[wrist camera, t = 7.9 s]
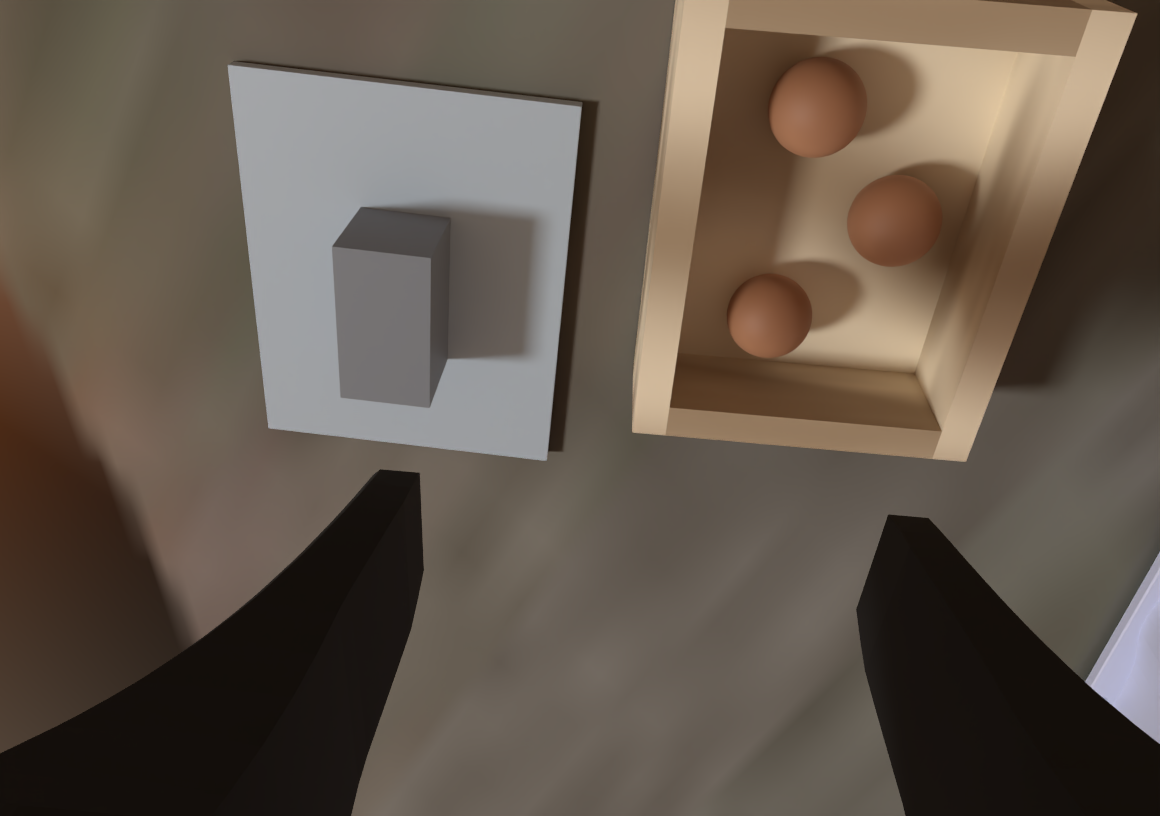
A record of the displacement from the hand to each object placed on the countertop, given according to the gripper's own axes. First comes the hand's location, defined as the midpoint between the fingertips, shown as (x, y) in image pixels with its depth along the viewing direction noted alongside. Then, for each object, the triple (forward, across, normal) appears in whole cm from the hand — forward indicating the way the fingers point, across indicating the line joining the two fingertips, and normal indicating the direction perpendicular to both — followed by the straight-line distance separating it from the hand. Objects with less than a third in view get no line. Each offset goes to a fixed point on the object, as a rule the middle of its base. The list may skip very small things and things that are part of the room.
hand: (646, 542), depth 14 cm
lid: (+11, +6, +1) cm, 13 cm away
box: (+10, -4, -2) cm, 11 cm away
